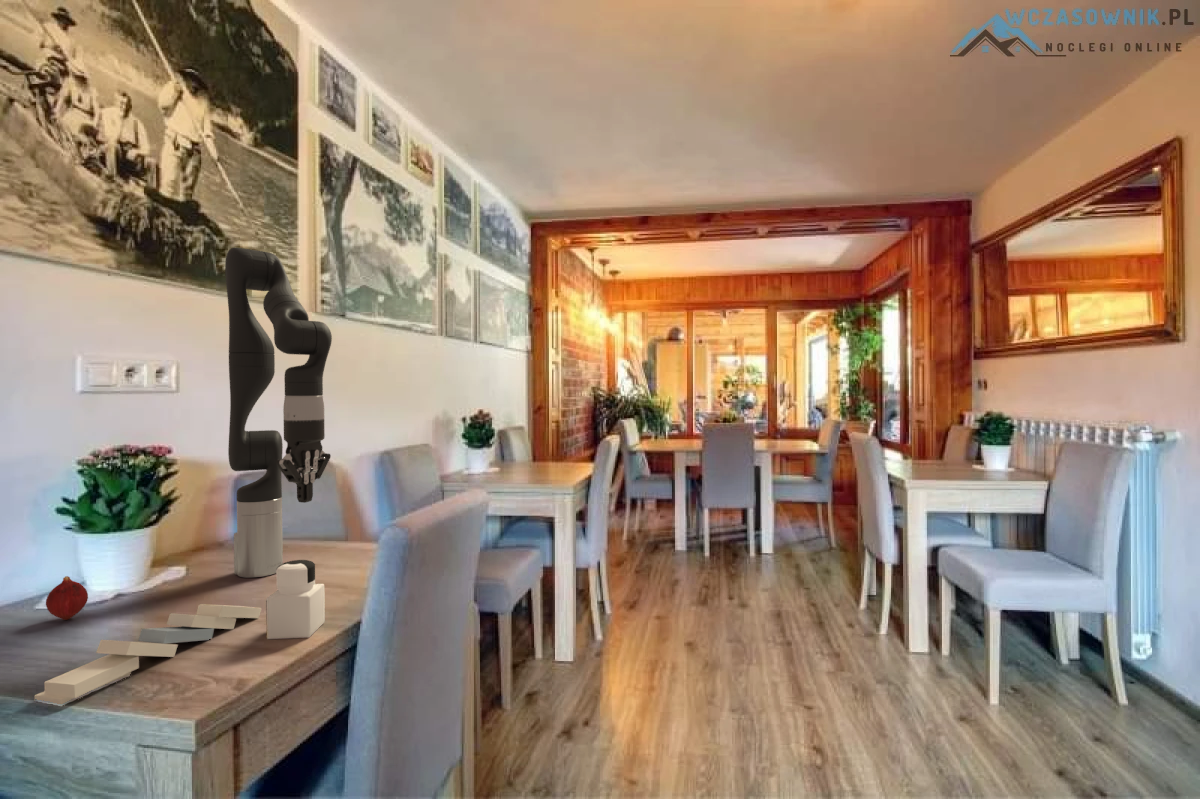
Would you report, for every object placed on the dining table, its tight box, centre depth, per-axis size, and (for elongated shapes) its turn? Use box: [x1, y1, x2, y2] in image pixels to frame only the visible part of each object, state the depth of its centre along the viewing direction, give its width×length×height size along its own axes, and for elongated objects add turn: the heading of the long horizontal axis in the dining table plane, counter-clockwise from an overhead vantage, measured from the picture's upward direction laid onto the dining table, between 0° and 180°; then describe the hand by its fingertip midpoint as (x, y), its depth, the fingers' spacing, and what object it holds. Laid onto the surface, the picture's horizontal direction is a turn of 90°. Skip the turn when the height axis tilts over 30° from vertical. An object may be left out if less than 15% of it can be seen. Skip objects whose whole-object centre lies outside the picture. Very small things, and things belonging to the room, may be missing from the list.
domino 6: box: [195, 603, 262, 619], centre depth 107 cm, size 5×2×9 cm
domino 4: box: [137, 626, 215, 644], centre depth 97 cm, size 5×2×9 cm
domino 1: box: [44, 654, 140, 698], centre depth 84 cm, size 5×2×9 cm
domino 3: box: [95, 639, 179, 658], centre depth 91 cm, size 5×2×9 cm
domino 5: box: [165, 612, 238, 630], centre depth 102 cm, size 5×2×9 cm
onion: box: [45, 575, 89, 621], centre depth 110 cm, size 6×6×8 cm
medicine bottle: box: [265, 559, 326, 640], centre depth 104 cm, size 7×7×12 cm
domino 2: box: [34, 671, 132, 704], centre depth 84 cm, size 5×2×9 cm
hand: (305, 501), depth 122 cm, fingers closed
